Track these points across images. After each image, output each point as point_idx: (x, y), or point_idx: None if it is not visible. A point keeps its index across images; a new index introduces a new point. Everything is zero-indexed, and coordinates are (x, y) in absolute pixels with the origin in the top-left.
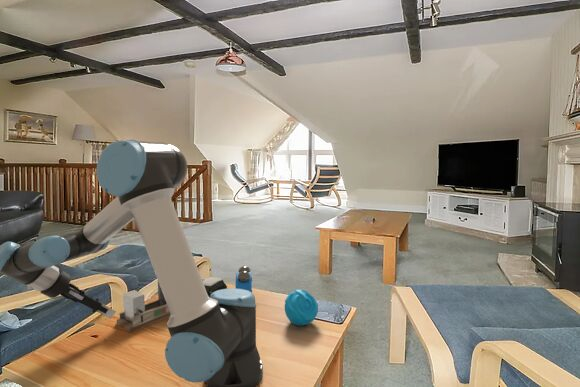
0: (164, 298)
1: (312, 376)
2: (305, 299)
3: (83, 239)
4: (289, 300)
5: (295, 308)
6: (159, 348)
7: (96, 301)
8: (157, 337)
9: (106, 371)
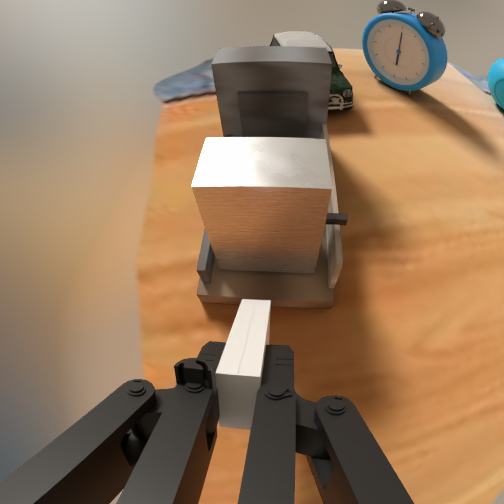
0: (276, 121)
1: None
2: None
3: None
4: None
5: None
6: (491, 297)
7: (386, 460)
8: (433, 266)
9: (492, 459)
